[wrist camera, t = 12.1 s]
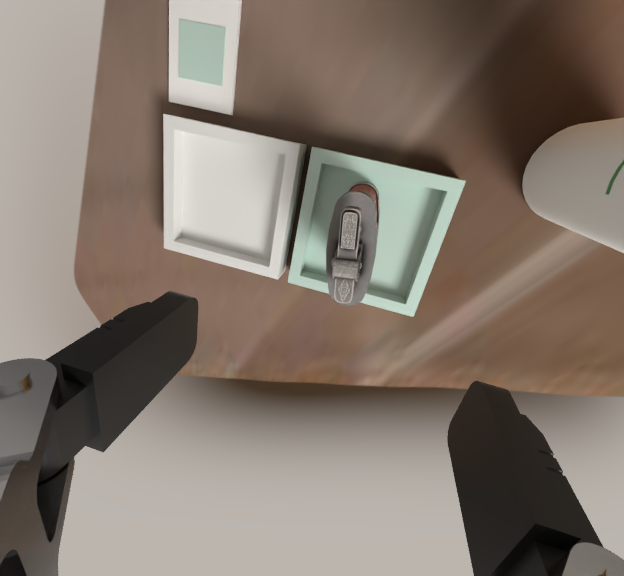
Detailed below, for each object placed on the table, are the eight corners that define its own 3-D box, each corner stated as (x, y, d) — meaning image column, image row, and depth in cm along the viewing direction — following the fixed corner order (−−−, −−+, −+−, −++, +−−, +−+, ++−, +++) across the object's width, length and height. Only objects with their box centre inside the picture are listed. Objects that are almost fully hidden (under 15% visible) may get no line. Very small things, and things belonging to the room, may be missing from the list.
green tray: (318, 147, 28) (312, 147, 25) (459, 178, 26) (465, 181, 24) (294, 273, 33) (287, 282, 30) (411, 305, 31) (413, 317, 29)
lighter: (373, 273, 30) (366, 326, 21) (337, 269, 30) (315, 318, 22) (385, 182, 27) (383, 199, 18) (344, 180, 27) (322, 194, 18)
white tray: (180, 116, 29) (163, 113, 27) (307, 144, 28) (300, 144, 26) (178, 241, 34) (163, 248, 32) (285, 270, 33) (277, 279, 31)
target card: (171, -13, 25) (168, -15, 25) (242, -1, 25) (239, -3, 24) (170, 102, 29) (168, 101, 28) (232, 115, 28) (230, 114, 28)
